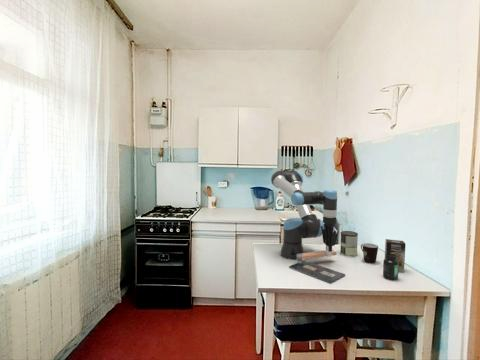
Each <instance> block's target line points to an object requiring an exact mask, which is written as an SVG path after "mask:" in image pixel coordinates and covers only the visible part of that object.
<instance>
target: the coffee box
mask: <svg viewBox="0 0 480 360" xmlns="http://www.w3.org/2000/svg"><path fill="white" fill-rule="evenodd" d="M386 254H395V255H396V256H397V261H398V263H399V268H398V273H403V274H404V273H405V262H406V261H405V260H406V242H404V240H399V239H397V240H396V239H387V238H385V244H384V259H386Z"/></svg>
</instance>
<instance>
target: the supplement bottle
mask: <svg viewBox="0 0 480 360" xmlns="http://www.w3.org/2000/svg"><path fill="white" fill-rule="evenodd" d="M382 264H383V265H382V276H383V278H384V279H386V280H389V281H397V280H398V279H399V272H398V268H399V263H398V261H397V256H396V255H395V254H386V259H385V258H384V260H383V263H382Z"/></svg>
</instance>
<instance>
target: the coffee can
mask: <svg viewBox="0 0 480 360" xmlns="http://www.w3.org/2000/svg"><path fill="white" fill-rule="evenodd" d="M358 236H359V233H358V232H356V231H353V230H342V231H340V255H342V256H345V257H348V258H349V257H352V258H353V257H354V258H355V257H357V256H358V241H359V240H358Z"/></svg>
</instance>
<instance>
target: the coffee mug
mask: <svg viewBox="0 0 480 360" xmlns="http://www.w3.org/2000/svg"><path fill="white" fill-rule="evenodd" d="M360 249H361V251H362V252H363V262H364V263H366V264H370V265H373V264H376V263H377V257H378V256H377V255H378V251H379V245H377V244H374V243H371V242H370V243H369V242H365V243H362V244H361V245H360Z"/></svg>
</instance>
